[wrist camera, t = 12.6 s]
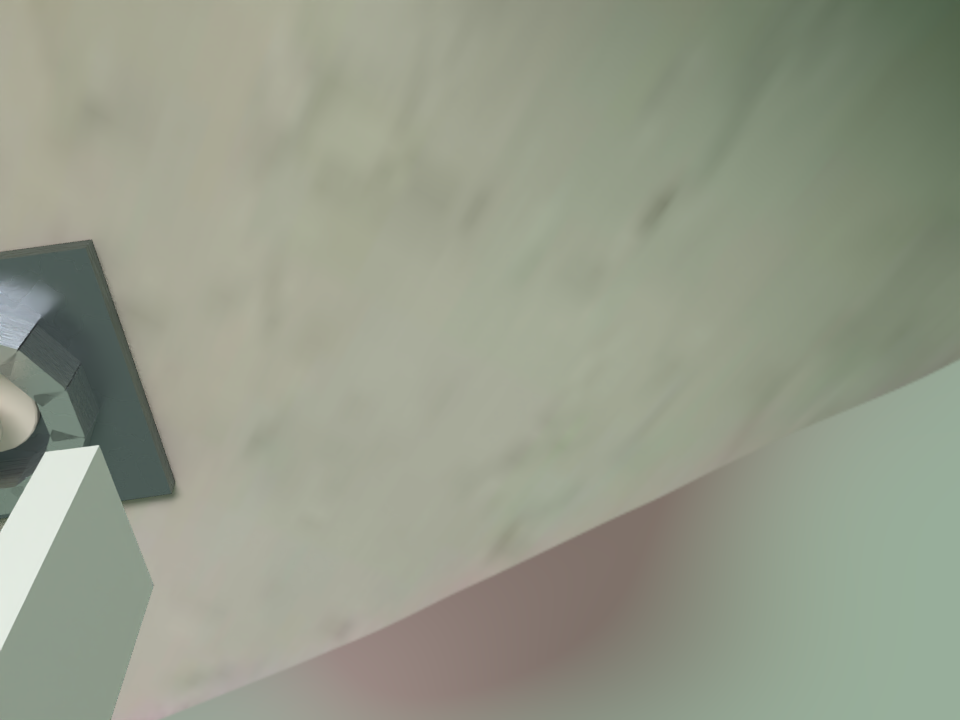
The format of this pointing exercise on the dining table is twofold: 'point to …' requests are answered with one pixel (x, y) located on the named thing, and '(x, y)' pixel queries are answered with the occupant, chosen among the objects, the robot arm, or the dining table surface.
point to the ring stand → (74, 371)
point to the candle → (15, 415)
